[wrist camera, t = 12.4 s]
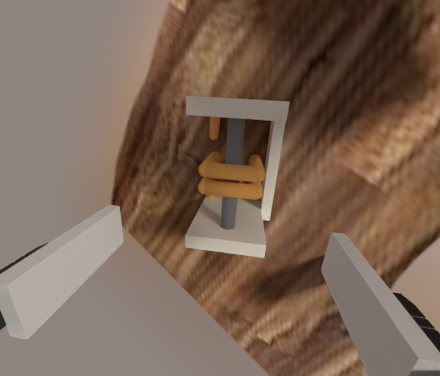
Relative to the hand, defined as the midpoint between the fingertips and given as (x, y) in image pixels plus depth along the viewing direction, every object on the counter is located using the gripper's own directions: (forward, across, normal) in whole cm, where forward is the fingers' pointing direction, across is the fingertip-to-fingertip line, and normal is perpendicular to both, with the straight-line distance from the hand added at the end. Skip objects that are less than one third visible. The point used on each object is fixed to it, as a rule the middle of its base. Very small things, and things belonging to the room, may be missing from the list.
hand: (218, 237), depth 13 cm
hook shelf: (+25, 0, 0) cm, 25 cm away
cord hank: (+20, 0, 0) cm, 20 cm away
